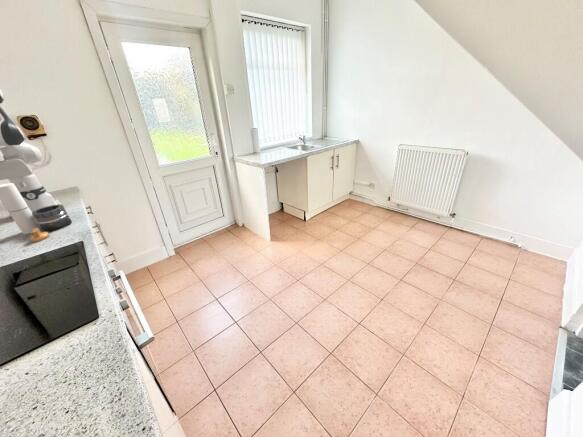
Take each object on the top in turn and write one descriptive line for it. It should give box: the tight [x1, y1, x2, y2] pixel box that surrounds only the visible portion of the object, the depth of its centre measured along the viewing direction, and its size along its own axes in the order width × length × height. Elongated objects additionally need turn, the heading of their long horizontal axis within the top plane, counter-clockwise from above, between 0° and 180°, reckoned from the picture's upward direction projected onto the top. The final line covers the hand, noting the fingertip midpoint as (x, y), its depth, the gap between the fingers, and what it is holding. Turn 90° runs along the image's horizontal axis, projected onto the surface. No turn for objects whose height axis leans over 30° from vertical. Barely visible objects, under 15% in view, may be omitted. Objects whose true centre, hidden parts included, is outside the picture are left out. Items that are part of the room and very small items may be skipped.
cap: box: [28, 228, 50, 243], centre depth 116 cm, size 7×7×5 cm
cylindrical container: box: [0, 182, 42, 235], centre depth 119 cm, size 7×7×25 cm
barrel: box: [32, 203, 73, 233], centre depth 126 cm, size 12×12×10 cm
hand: (8, 189), depth 105 cm, fingers open, 8 cm apart
